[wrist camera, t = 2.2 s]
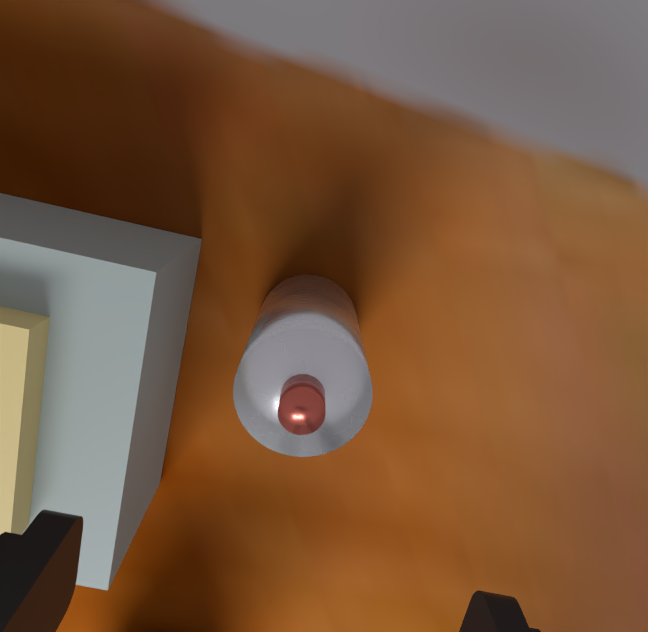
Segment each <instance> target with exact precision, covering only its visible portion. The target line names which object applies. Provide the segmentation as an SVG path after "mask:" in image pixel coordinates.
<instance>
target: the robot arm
mask: <svg viewBox="0 0 648 632" xmlns="http://www.w3.org/2000/svg"><path fill="white" fill-rule="evenodd" d="M82 532H83V517H82V516H77V515H72V514H66V513H61V512H56V511H50V510H42V511H41V512H39V514H38V515H37V516H36V517H35V519H34V520H33V521H32V522H31V524H30V525H29V526H28V528H27V529H26V530H25V532H24V533H23V534H22V535H20V534H15V533H9V532H4V533H2V534H1V535H0V632H56V630H57V628H58V626H59V624H60V623H61V621H62V619H63V617H64V615H65V613H66V611H67V609H68V607H69V604H70V601H71V599H72V596H73V592H74V589H75V585H76V580H77V573H78V565H79V556H80V548H81V540H82ZM459 632H541V631H540V630H539V629H534V628H529V626H528V624H527V622H526V619H525V617H524V615H523V612H522V610H521V608H520V606H519V603H518V602H517V600H516V599H515V598H514V597H511V596H505V595H500V594H494V593H489V592H483V591H476V592H475V593H474V594H473V596H472V598H471V601H470V603H469V606H468V609H467V612H466V614H465V617H464V620H463V623H462V625H461V628H460V631H459Z"/></svg>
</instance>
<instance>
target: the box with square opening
mask: <svg viewBox="0 0 648 632" xmlns="http://www.w3.org/2000/svg"><path fill="white" fill-rule="evenodd" d="M201 243H202V239H200V238H196V237H191V236H187V235H182V234H178V233H174V232H169V231H165V230H161V229H156V228H152V227H147V226H143V225H139V224H134V223H130V222H125V221H121V220H117V219H112V218H108V217H104V216H99V215H95V214H90V213H86V212H82V211H77V210H73V209H68V208H64V207H60V206H55V205H51V204H47V203H42V202H38V201H33V200H29V199H25V198H20V197H16V196H11V195H7V194H3V193H0V535H1V534H2V533H4V532H9V533H15V534H20V535H22V534H23V533H24V532H25V530H26V529H27V528H28V526H29V525H30V524H31V522H32V521H33V520H34V519H35V517H36V516H37V515H38V514H39V512H41V511H42V510H50V511H56V512H61V513H66V514H72V515H77V516H82V517H83V532H82V540H81V548H80V556H79V565H78V573H77V580H76V585H81V586H86V587H91V588H97V589H102V590H108V589H109V587H110V585H111V583H112V581H113V579H114V577H115V575H116V572H117V570H118V568H119V566H120V564H121V562H122V560H123V558H124V556H125V554H126V552H127V550H128V548H129V546H130V544H131V542H132V540H133V537H134V535H135V533H136V531H137V529H138V527H139V525H140V523H141V521H142V519H143V517H144V515H145V513H146V511H147V509H148V507H149V505H150V503H151V500H152V498H153V496H154V494H155V492H156V490H157V488H158V486H159V484H160V480H161V474H162V468H163V462H164V457H165V451H166V445H167V439H168V433H169V428H170V422H171V416H172V410H173V404H174V399H175V393H176V387H177V381H178V376H179V370H180V364H181V358H182V352H183V347H184V341H185V335H186V329H187V324H188V318H189V312H190V306H191V300H192V295H193V289H194V283H195V277H196V271H197V266H198V260H199V254H200V248H201Z"/></svg>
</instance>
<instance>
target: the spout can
mask: <svg viewBox="0 0 648 632" xmlns="http://www.w3.org/2000/svg"><path fill="white" fill-rule="evenodd" d="M372 393H373V392H372V383H371V378H370V374H369V369H368V365H367V360H366V356H365V351H364V347H363V342H362V338H361V333H360V329H359V324H358V320H357V315H356V311H355V307H354V304H353V302H352V300H351V298H350V297H349V295H348V294H347V293H346V291H345V290H344V289H343V288H342V287H341V286H339V285H338V284H337V283H335V282H334V281H332V280H330V279H328V278H325V277H322V276H318V275H309V274H305V275H298V276H293V277H291V278H288V279H286V280H284V281H282V282H281V283H279V284H278V285H276V286H275V287H274V288H273V289H272V290H271V291H270V292H269V294H268V295H267V297H266V298H265V300H264V302H263V304H262V307H261V309H260V312H259V315H258V317H257V320H256V323H255V325H254V328H253V330H252V333H251V336H250V338H249V341H248V343H247V346H246V349H245V351H244V354H243V357H242V359H241V362H240V364H239V367H238V370H237V372H236V376H235V379H234V386H233V398H234V405H235V408H236V412H237V414H238V417H239V419H240V421H241V423H242V424H243V426H244V427H245V429H246V430H247V431H248V432H249V433H250V435H251V436H252V437H254V438H255V439H256V440H257V441H258V442H260V443H261V444H262V445H264V446H265V447H267V448H269V449H271V450H273V451H276V452H278V453H281V454H285V455H289V456H296V457H309V456H317V455H322V454H325V453H328V452H331V451H333V450H335V449H337V448H339V447H341V446H343V445H344V444H346V443H347V442H348V441H349V440H351V439H352V438H353V437H354V436H355V435H356V434H357V433H358V432H359V430H360V429H361V427H362V426H363V425H364V423H365V421H366V419H367V417H368V414H369V411H370V408H371V403H372Z"/></svg>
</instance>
